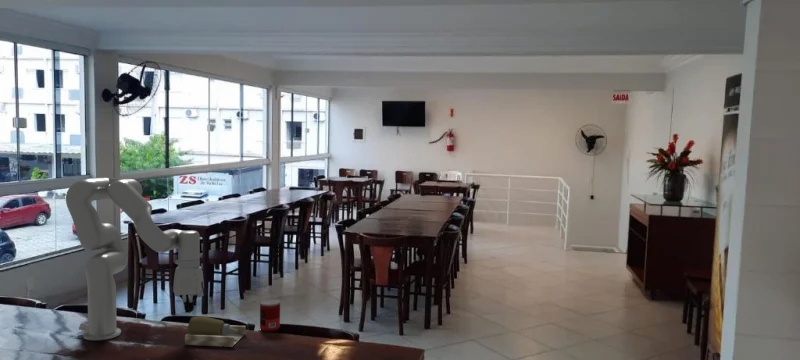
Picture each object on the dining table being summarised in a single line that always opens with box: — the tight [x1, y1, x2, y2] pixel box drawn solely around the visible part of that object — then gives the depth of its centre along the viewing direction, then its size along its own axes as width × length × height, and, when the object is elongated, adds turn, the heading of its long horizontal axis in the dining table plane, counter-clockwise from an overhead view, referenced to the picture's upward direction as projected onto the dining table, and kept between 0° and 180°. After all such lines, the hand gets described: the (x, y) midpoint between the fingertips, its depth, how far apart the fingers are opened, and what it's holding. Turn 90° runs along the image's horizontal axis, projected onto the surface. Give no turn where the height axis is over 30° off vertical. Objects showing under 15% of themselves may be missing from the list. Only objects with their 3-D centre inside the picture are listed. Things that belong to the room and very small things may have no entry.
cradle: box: [184, 324, 247, 348], centre depth 206 cm, size 18×13×4 cm
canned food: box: [259, 298, 281, 333], centre depth 220 cm, size 8×8×11 cm
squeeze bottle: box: [187, 315, 238, 336], centre depth 207 cm, size 8×8×18 cm
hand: (189, 311), depth 206 cm, fingers closed
